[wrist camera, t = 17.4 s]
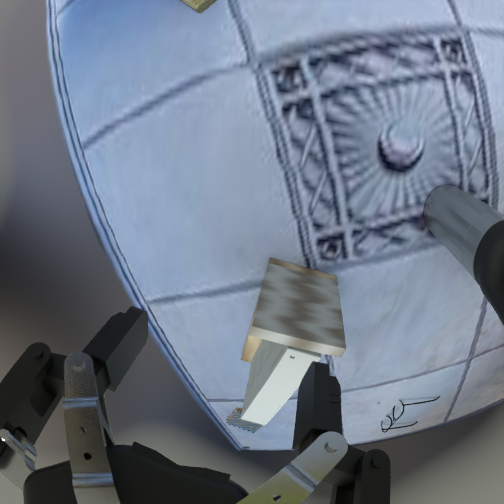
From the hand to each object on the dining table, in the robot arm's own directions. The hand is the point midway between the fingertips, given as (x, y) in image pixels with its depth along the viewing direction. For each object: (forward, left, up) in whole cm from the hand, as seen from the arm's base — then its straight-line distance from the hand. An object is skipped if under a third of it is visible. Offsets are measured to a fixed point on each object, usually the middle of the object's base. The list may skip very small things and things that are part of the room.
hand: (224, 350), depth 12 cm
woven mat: (-8, +67, -35) cm, 76 cm away
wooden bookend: (-7, +25, -34) cm, 43 cm away
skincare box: (-7, +26, -32) cm, 42 cm away
